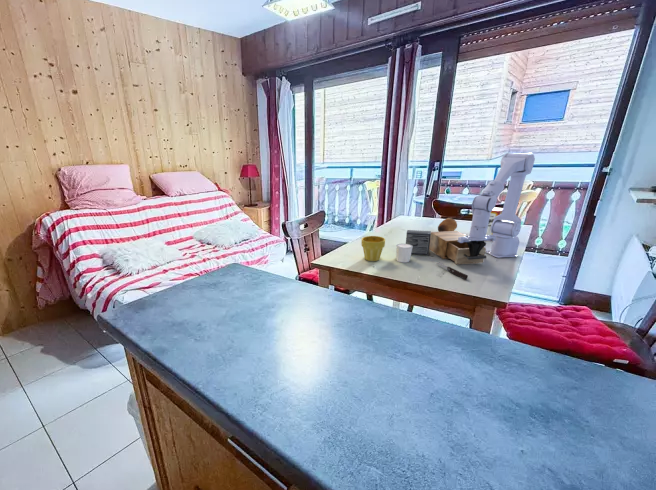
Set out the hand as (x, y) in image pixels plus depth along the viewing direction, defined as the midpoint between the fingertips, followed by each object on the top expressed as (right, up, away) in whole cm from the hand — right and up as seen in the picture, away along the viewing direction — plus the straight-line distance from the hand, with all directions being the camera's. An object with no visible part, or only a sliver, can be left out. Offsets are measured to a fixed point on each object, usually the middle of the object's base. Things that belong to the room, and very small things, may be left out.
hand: (473, 258), depth 135 cm
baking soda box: (+29, +12, +36) cm, 48 cm away
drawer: (0, -1, +7) cm, 7 cm away
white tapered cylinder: (-24, -1, +14) cm, 27 cm away
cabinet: (0, +3, +19) cm, 19 cm away
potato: (+14, +19, +46) cm, 52 cm away
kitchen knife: (-10, -6, -1) cm, 12 cm away
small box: (-14, +3, +22) cm, 26 cm away
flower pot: (-37, 0, +17) cm, 41 cm away
